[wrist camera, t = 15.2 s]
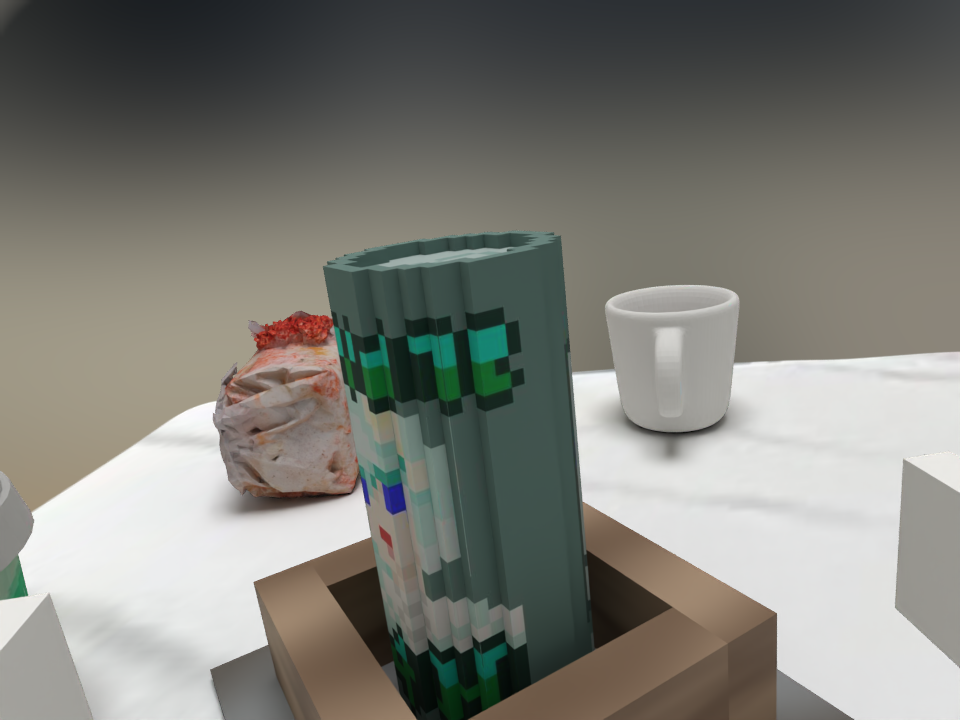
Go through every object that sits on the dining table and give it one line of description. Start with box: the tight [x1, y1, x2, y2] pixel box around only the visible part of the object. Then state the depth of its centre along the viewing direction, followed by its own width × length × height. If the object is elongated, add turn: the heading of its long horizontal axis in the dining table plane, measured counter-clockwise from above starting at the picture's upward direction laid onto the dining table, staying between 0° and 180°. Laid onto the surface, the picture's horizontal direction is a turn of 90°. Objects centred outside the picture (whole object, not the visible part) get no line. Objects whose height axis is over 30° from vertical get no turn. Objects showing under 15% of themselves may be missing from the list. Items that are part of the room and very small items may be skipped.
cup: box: [605, 285, 739, 432], centre depth 43 cm, size 11×8×8 cm
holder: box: [210, 502, 854, 720], centre depth 23 cm, size 16×16×4 cm
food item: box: [213, 311, 359, 498], centre depth 44 cm, size 14×8×10 cm, turn 4°
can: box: [323, 231, 594, 720], centre depth 21 cm, size 6×6×15 cm
